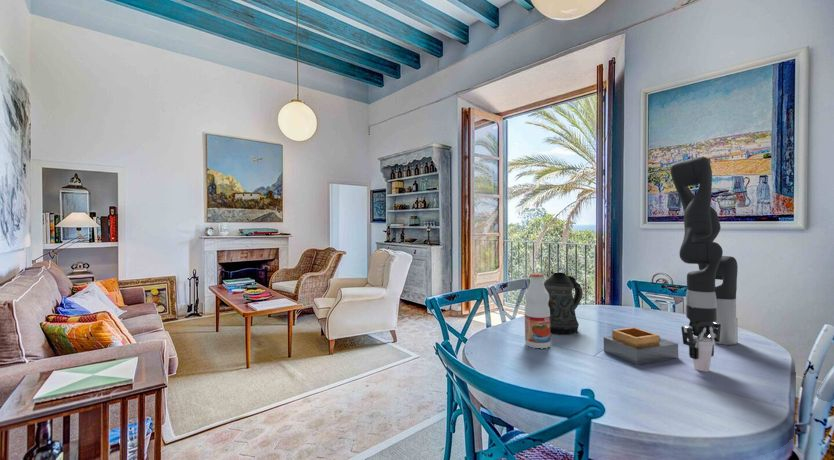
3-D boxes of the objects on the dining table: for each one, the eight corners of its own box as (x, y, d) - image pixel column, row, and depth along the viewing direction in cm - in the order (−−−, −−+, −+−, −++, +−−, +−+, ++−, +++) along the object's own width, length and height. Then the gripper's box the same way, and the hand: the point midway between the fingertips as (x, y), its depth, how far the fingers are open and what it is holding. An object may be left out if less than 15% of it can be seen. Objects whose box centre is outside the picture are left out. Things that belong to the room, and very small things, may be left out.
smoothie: (719, 373, 108) (719, 328, 107) (696, 372, 109) (695, 328, 109) (707, 365, 114) (706, 322, 114) (684, 364, 115) (683, 322, 115)
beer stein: (531, 329, 156) (530, 273, 156) (552, 320, 169) (551, 269, 169) (568, 337, 144) (567, 277, 144) (587, 327, 157) (586, 272, 157)
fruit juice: (538, 339, 142) (537, 271, 142) (556, 347, 134) (554, 274, 133) (520, 343, 139) (518, 273, 138) (536, 351, 130) (535, 276, 130)
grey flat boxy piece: (648, 343, 135) (647, 323, 135) (684, 356, 121) (684, 334, 121) (603, 350, 129) (603, 329, 129) (637, 365, 116) (636, 340, 116)
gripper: (704, 300, 117) (705, 350, 117) (672, 304, 113) (672, 355, 113) (730, 305, 109) (731, 358, 110) (696, 309, 105) (697, 364, 106)
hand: (701, 356), depth 111 cm, fingers open, 6 cm apart
